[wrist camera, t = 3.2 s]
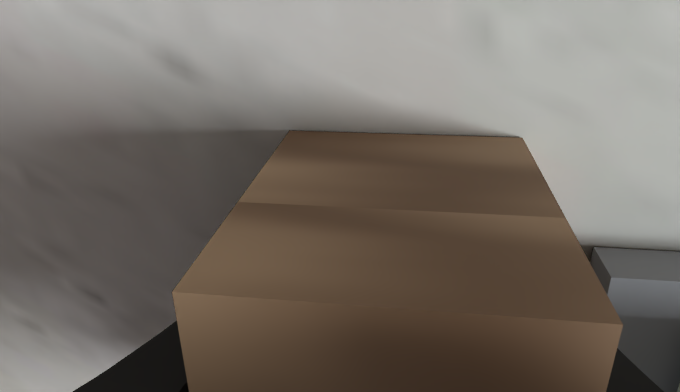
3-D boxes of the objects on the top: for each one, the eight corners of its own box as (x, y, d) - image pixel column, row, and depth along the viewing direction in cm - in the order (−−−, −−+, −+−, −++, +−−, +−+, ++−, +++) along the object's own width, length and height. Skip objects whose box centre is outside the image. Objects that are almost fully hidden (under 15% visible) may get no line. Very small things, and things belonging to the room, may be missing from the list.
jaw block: (303, 387, 12) (233, 649, 8) (289, 130, 10) (171, 291, 5) (486, 404, 12) (528, 696, 7) (522, 137, 9) (623, 325, 5)
